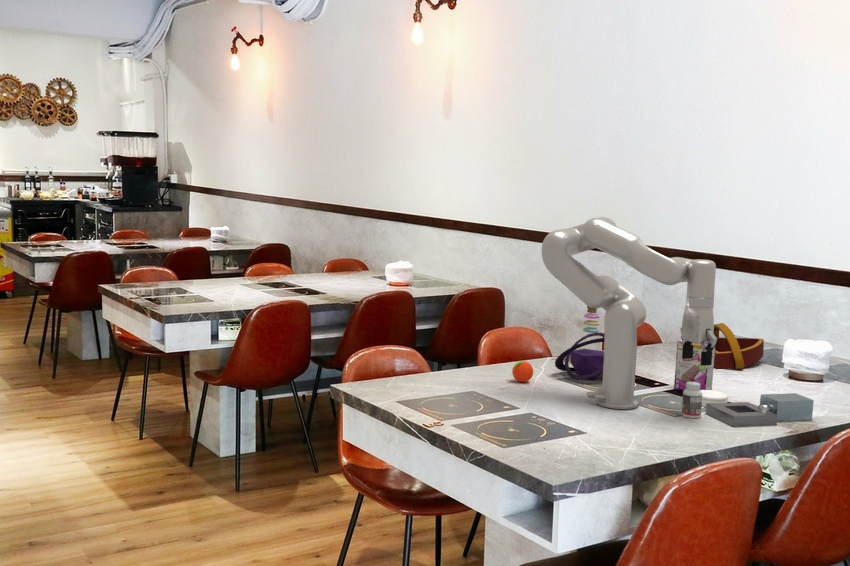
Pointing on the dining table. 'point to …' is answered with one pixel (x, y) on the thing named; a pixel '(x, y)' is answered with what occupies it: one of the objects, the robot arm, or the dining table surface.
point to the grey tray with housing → (763, 410)
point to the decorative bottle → (584, 353)
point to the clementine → (522, 371)
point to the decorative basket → (735, 349)
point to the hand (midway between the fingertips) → (696, 361)
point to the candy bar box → (692, 369)
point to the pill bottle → (692, 400)
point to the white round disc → (713, 397)
